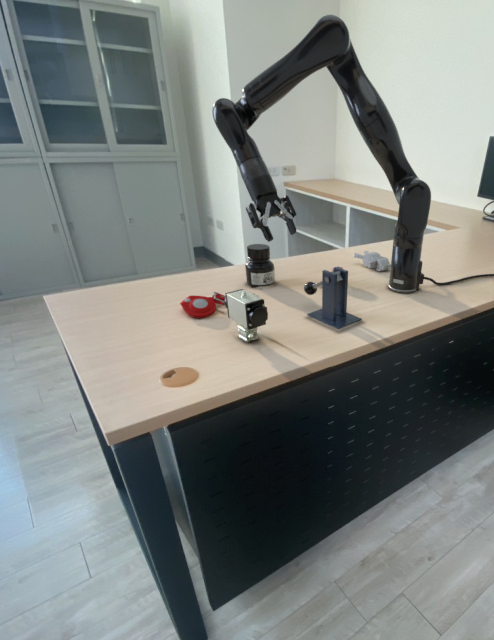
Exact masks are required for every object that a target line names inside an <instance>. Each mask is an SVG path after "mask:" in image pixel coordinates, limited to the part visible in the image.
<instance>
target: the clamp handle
mask: <svg viewBox="0 0 494 640" xmlns="http://www.w3.org/2000/svg"><path fill="white" fill-rule="evenodd" d="M334 273H335V274H337V282H339V281H341V280H343V278H342V275H341V272H340V271H337V272H334ZM320 287H322V280H321V281H319V282H317V283H315V282H313V281H307V282H306V283H305V284H304V286H303V290H304V293H305V294H306V295H308V296H313V295H316V294H317V291H318V288H320Z"/></svg>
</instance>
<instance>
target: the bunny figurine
mask: <svg viewBox="0 0 494 640" xmlns="http://www.w3.org/2000/svg"><path fill="white" fill-rule="evenodd" d="M352 258H356V259H360V260H362V262H363V265H364V266H365V267H367V268H369V269H375V270H376V271H377V272H382V271H387V270H391V262H390V261H389V258H388V257H386V256H382V255H381V253H379V252H377V251H368V250H364V251H363V254H361V253H357V252H354V253H353V256H352Z"/></svg>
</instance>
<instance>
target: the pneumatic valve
mask: <svg viewBox="0 0 494 640" xmlns="http://www.w3.org/2000/svg"><path fill="white" fill-rule="evenodd" d="M224 294H225V296H226V298H225V301H224V307H225V308H226V309H227V316H228V319H230V320H232V321H233V322H235V323H237V324H238V325H237V330H238V333H239V334H238V338H239V339H241V340H242V341H244V342H246V343H250V341H255V340H258V339H259V333H258V328H259V327H263V326H265V325H267V320H268V319H269V312H268V307H267V306H266V305H265V299H263V298H261V297H260V295H259V294H256V292H252V293H251V292H250V291H248V290H245V289H243V288H241V289H236V290H233V291H228V292H225V293H224Z"/></svg>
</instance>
